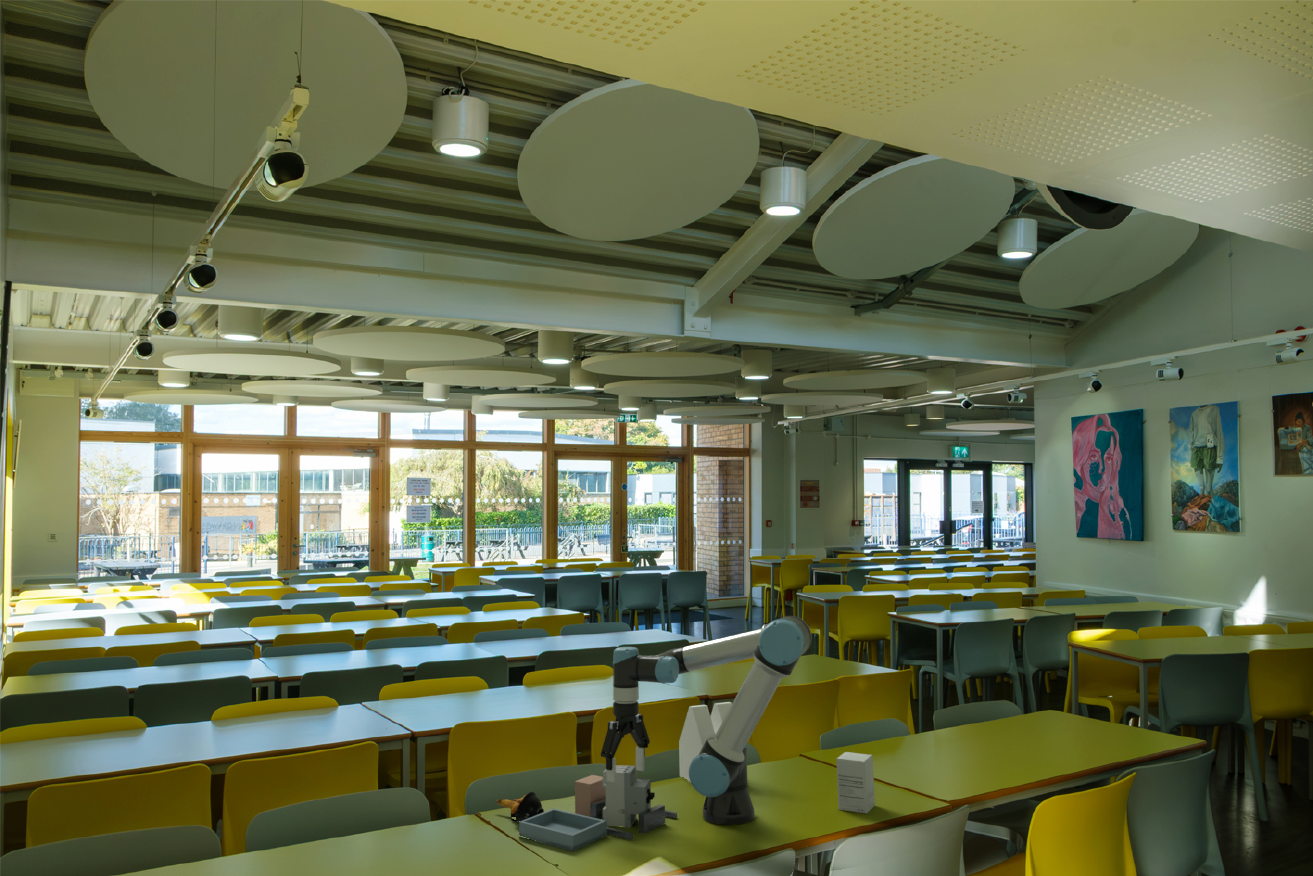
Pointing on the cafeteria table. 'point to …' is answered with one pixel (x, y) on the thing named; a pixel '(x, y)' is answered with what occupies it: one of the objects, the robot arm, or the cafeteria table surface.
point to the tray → (563, 829)
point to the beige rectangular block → (588, 793)
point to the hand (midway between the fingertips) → (625, 776)
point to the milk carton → (698, 732)
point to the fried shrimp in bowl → (523, 806)
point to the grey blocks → (645, 819)
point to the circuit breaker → (625, 796)
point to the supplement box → (855, 782)
